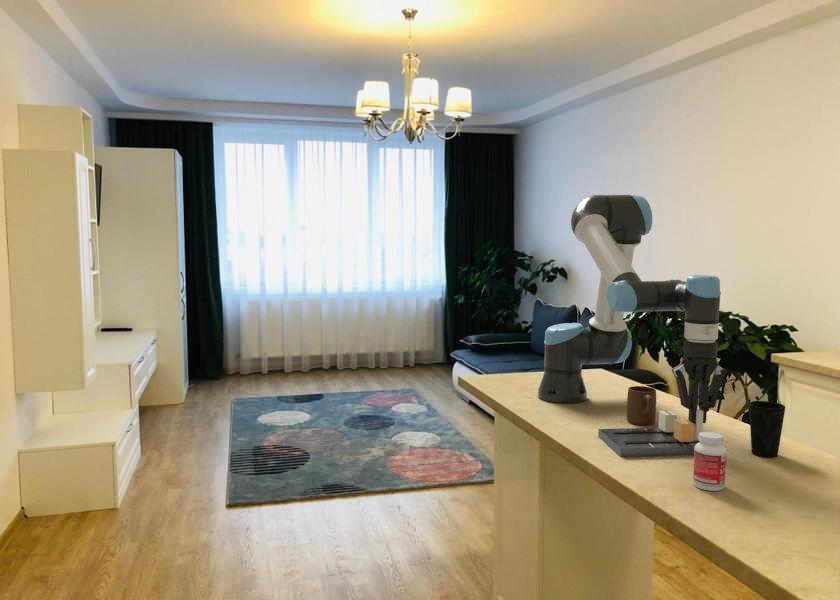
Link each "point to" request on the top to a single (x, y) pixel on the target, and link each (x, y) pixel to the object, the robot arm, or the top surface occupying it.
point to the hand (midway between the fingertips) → (696, 436)
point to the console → (645, 442)
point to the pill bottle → (709, 462)
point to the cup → (766, 427)
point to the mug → (641, 405)
